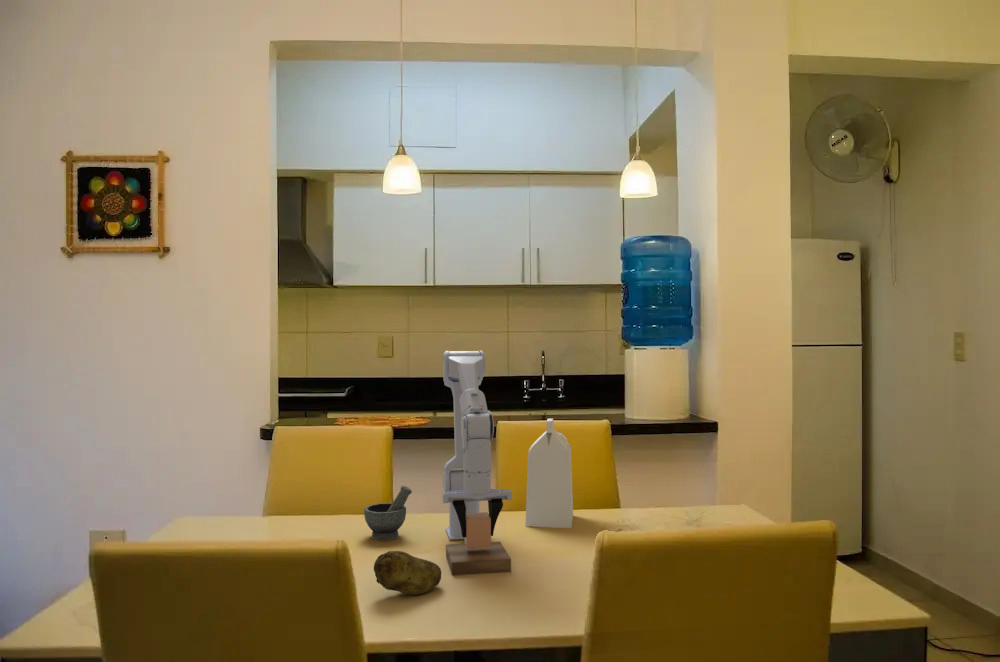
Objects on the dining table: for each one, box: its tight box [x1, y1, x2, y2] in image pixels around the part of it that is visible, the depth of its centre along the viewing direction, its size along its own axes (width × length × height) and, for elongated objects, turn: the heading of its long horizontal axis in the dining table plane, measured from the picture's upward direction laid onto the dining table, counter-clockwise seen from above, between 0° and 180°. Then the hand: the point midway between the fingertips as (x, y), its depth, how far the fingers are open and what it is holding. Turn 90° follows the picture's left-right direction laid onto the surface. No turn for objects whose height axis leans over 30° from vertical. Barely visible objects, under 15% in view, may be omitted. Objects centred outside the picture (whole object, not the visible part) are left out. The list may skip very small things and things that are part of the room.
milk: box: [524, 418, 574, 529], centre depth 180 cm, size 12×12×26 cm
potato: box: [373, 550, 442, 596], centre depth 130 cm, size 8×13×8 cm, turn 103°
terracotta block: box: [463, 511, 492, 549], centre depth 146 cm, size 5×5×6 cm
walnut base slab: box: [445, 541, 512, 576], centre depth 146 cm, size 12×12×2 cm
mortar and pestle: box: [363, 485, 413, 542], centre depth 166 cm, size 11×9×12 cm
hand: (477, 535), depth 146 cm, fingers closed on terracotta block, 5 cm apart
